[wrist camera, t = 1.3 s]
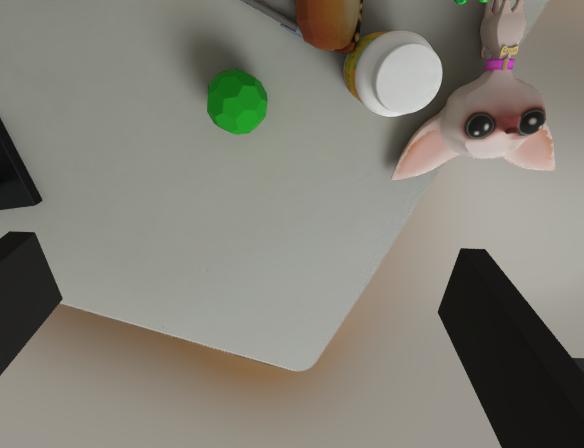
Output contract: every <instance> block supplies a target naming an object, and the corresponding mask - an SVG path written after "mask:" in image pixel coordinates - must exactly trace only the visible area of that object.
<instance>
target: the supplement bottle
mask: <svg viewBox="0 0 584 448" xmlns="http://www.w3.org/2000/svg"><path fill="white" fill-rule="evenodd" d="M343 73H344V80H345V83H346V86H347V88H348V89H349V91H350V92H351V93H352V95H353V96H355V97H356V98H357V99H358V100H359V101H360V102H361V103H363V104H364V105H365V106H366V107H367V108H368V109H369V110H371V111H372V112H374V113H376V114H379V115H382V116H387V117H395V116H400V115H404V114H408V113H413V112H416V111H418V110H420V109H422V108H423V107H425V106H426V105H427V104H429V103H430V102H431V100H432V99H433V98H434V97H435V95H436V93H437V92H438V90H439V87H440V85H441V81H442V65H441V62H440V59H439V57H438V56H437V54H436V53H435V52H434V51H433V49H432V47H431V46H430V44H429V43H428V42H427V41H426V40H425V39H424V38H423V37H421V36H420V35H418V34H416V33H414V32H410V31H405V30H396V31H386V32H375V33H372V34H368V35H366V36H364V37H362V38H361V39H359V42H358V43H357V45H356V47H355V49H354V51H351V52H348V54H347V56H346V59H345V63H344V70H343Z"/></svg>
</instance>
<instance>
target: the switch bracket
mask: <svg viewBox="0 0 584 448" xmlns="http://www.w3.org/2000/svg"><path fill="white" fill-rule="evenodd" d="M41 201H42V198H41V197H40V195H39V193H38V191H37V189H36V187H35V185H34V183H33V181H32V179H31V177H30V175H29V173H28V171H27V169H26V167H25V165H24V164H23V162H22V160H21V158H20V156H19V154H18V152H17V150H16V148H15V146H14V144H13V142H12V140H11V138H10V136H9V134H8V132H7V130H6V129H5V127H4V125H3V123H2V121H1V119H0V210H4V209H12V208H20V207H27V206H35V205H37V204H38V203H40V202H41Z"/></svg>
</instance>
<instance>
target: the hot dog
mask: <svg viewBox="0 0 584 448" xmlns="http://www.w3.org/2000/svg"><path fill="white" fill-rule="evenodd" d="M362 5H363V0H296V17H297V24H298V26H299V29H300V31H301V34H302V36H303V39H304V41H306V42H307V43H309V44H311V45H313V46H315V47H316V48H319V49H323V50H334V51H337V52H340V53H343V54H345V53H348V52H351V51H354V49H355V47H356V45H357V43H358V42H359V34H360V24H361V15H362Z"/></svg>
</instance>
